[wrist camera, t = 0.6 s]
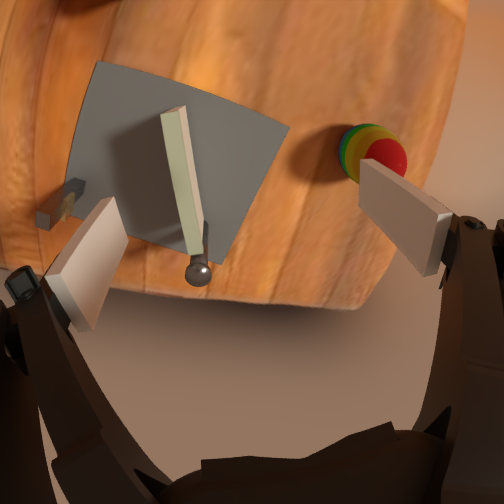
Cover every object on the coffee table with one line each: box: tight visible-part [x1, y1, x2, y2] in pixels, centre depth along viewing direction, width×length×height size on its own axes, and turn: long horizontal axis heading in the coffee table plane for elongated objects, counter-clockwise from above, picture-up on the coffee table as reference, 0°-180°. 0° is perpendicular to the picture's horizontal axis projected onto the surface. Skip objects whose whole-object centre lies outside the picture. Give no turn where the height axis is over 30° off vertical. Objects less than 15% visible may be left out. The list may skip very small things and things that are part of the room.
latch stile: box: [35, 177, 86, 231], centre depth 30 cm, size 3×3×11 cm
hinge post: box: [185, 220, 211, 287], centre depth 35 cm, size 3×3×12 cm
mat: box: [65, 61, 290, 265], centre depth 35 cm, size 26×22×1 cm
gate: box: [160, 105, 204, 255], centre depth 31 cm, size 15×2×9 cm, turn 5°
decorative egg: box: [338, 124, 407, 184], centre depth 32 cm, size 8×8×10 cm
